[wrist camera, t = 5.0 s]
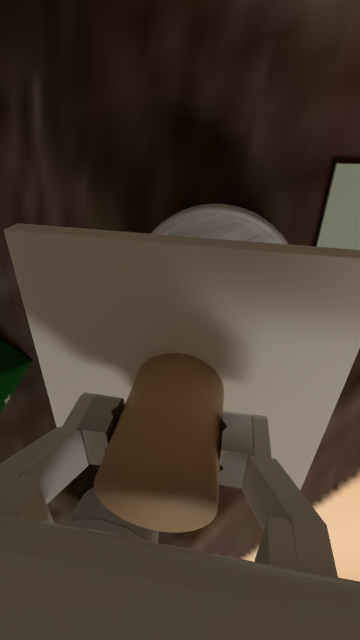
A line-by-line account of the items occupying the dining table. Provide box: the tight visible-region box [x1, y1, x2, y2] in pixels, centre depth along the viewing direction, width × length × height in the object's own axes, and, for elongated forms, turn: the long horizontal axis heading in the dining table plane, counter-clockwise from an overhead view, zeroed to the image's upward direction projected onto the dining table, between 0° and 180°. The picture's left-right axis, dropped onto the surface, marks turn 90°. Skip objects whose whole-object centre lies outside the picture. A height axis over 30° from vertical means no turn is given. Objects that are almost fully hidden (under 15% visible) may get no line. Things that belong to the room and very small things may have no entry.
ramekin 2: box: [151, 204, 288, 244], centre depth 23 cm, size 11×11×5 cm
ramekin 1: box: [64, 487, 159, 543], centre depth 43 cm, size 13×13×7 cm
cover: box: [4, 224, 360, 532], centre depth 11 cm, size 12×12×5 cm
